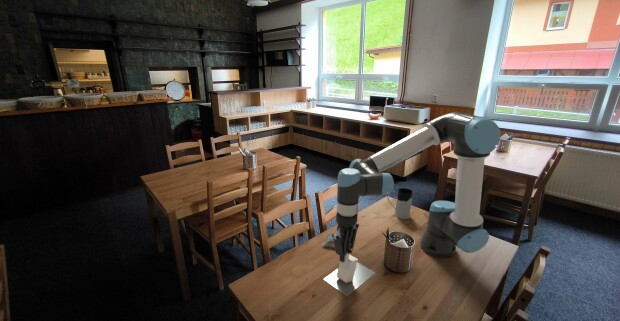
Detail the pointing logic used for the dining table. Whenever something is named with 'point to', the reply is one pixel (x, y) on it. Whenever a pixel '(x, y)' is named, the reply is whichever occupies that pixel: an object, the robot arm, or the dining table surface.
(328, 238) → the packaged food
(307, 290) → the dining table surface
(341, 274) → the block
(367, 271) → the board
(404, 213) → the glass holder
